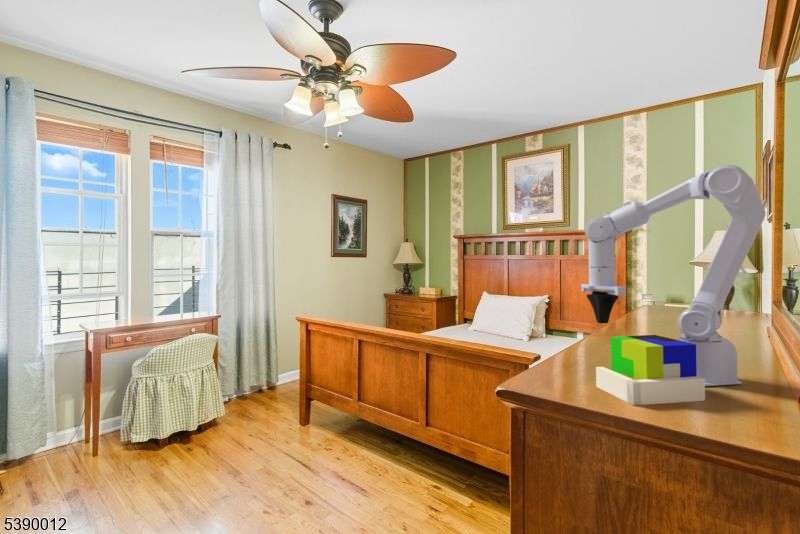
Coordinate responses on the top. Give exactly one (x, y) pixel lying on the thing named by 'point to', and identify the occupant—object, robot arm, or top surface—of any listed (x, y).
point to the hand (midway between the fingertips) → (602, 322)
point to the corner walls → (650, 388)
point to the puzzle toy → (652, 357)
